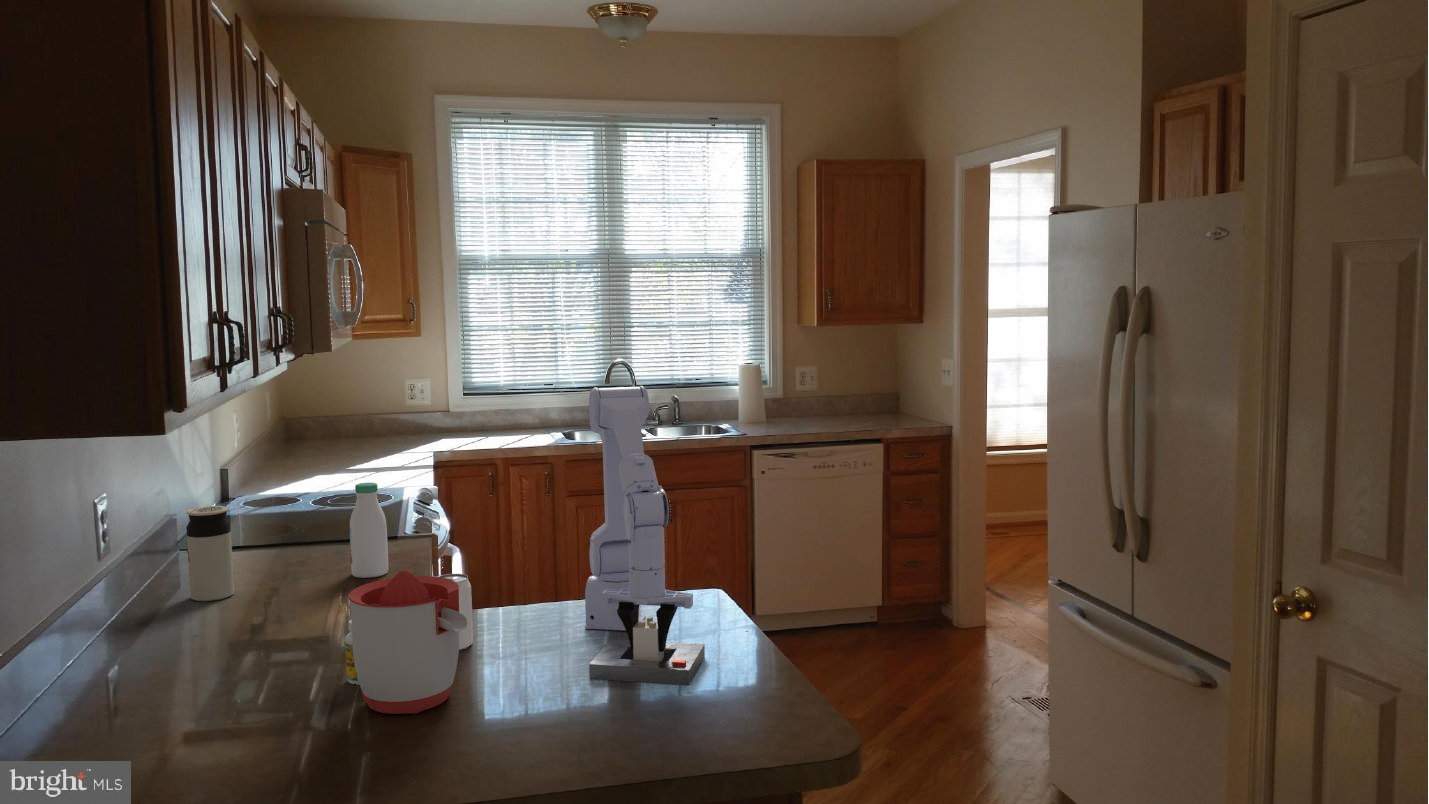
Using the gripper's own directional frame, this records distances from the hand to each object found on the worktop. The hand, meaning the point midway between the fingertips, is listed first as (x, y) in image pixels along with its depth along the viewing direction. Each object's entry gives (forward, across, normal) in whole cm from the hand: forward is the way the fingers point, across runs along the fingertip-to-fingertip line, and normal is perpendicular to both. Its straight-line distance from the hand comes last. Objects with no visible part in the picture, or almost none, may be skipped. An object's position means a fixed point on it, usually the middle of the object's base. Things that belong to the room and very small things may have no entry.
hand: (648, 649), depth 164 cm
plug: (+2, 0, 0) cm, 2 cm away
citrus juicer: (+3, -31, -19) cm, 37 cm away
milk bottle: (+3, -75, +46) cm, 88 cm away
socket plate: (+3, 0, 0) cm, 3 cm away
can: (+3, -36, +5) cm, 37 cm away
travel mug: (+3, -98, +25) cm, 101 cm away
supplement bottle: (+3, -43, -12) cm, 45 cm away
